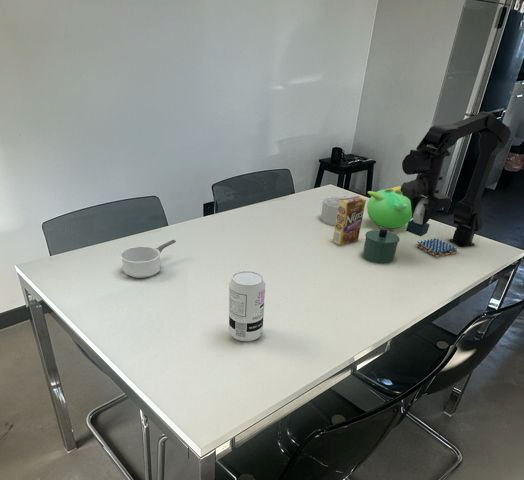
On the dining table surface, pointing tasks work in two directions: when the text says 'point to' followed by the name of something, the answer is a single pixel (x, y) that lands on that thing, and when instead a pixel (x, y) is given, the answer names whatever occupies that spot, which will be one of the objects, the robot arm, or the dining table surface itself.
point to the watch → (418, 220)
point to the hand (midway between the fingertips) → (418, 220)
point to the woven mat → (436, 247)
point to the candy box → (349, 220)
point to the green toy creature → (389, 208)
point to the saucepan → (142, 260)
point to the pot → (379, 252)
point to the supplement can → (246, 305)
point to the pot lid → (382, 236)
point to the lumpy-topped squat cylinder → (330, 210)
